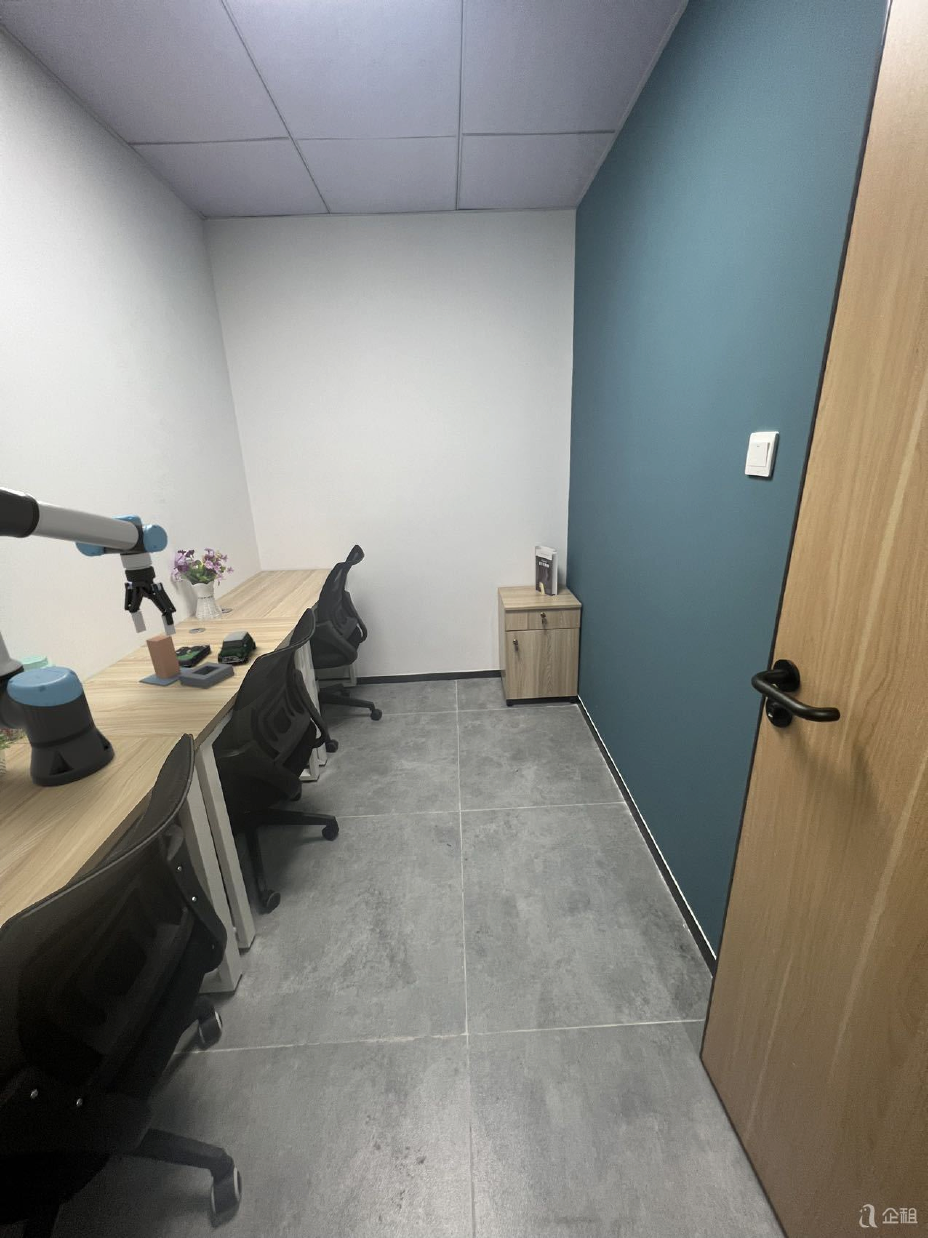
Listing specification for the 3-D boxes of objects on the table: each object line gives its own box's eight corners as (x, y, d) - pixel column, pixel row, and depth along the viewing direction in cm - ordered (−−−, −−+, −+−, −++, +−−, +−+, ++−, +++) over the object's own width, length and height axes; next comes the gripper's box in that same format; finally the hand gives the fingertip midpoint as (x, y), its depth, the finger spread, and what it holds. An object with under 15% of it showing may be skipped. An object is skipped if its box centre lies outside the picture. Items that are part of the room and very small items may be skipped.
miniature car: (217, 669, 163) (212, 646, 160) (232, 649, 180) (227, 629, 177) (245, 665, 164) (240, 643, 162) (257, 646, 181) (253, 626, 178)
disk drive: (183, 653, 178) (161, 668, 164) (181, 646, 178) (159, 660, 163) (211, 651, 179) (192, 666, 164) (210, 644, 178) (190, 658, 164)
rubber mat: (165, 686, 151) (165, 685, 151) (139, 682, 156) (139, 680, 156) (198, 670, 162) (197, 669, 162) (172, 667, 166) (172, 665, 166)
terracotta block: (167, 679, 156) (156, 641, 151) (156, 677, 157) (145, 640, 153) (181, 672, 160) (171, 635, 156) (170, 671, 162) (160, 634, 158)
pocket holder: (206, 688, 148) (203, 679, 147) (180, 684, 152) (178, 675, 151) (234, 673, 158) (232, 665, 157) (209, 670, 162) (207, 661, 161)
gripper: (178, 565, 146) (194, 631, 152) (123, 563, 155) (140, 626, 161) (155, 570, 139) (173, 640, 146) (99, 568, 148) (118, 634, 155)
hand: (156, 633), depth 154 cm, fingers open, 13 cm apart
